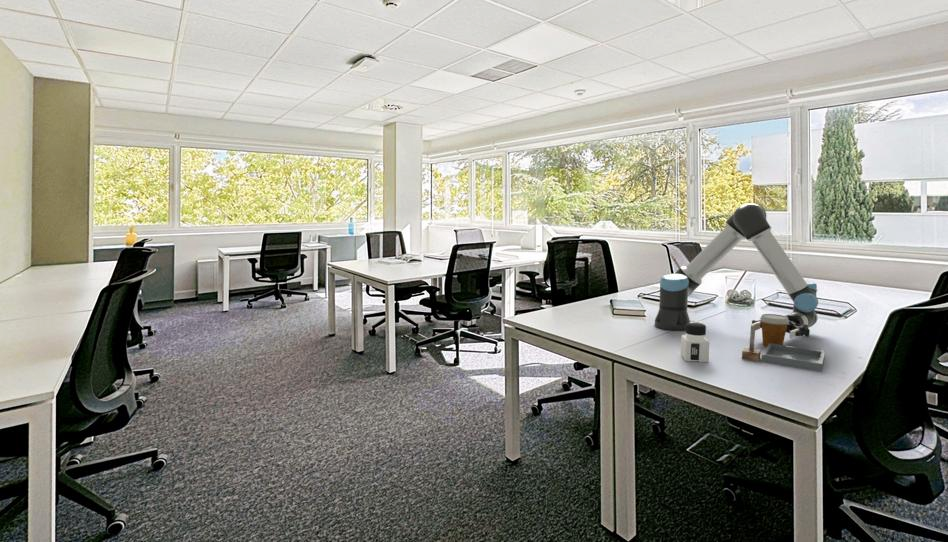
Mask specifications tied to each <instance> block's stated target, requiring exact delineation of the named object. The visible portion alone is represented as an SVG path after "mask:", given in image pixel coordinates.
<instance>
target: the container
mask: <svg viewBox="0 0 948 542" xmlns="http://www.w3.org/2000/svg"><path fill="white" fill-rule="evenodd" d="M706 334H707V326H706V325H705V324H704V323H702V322H694V321H690V323H687V324H686V330H685V334H682V335H681V336H680V337H681V340H680V356H681V358H683V361H685V362H689V361H699V362H698V363H709V362H710V360H709V359H710V341H709V340H708V339H707V338H706V336H707V335H706Z"/></svg>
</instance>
